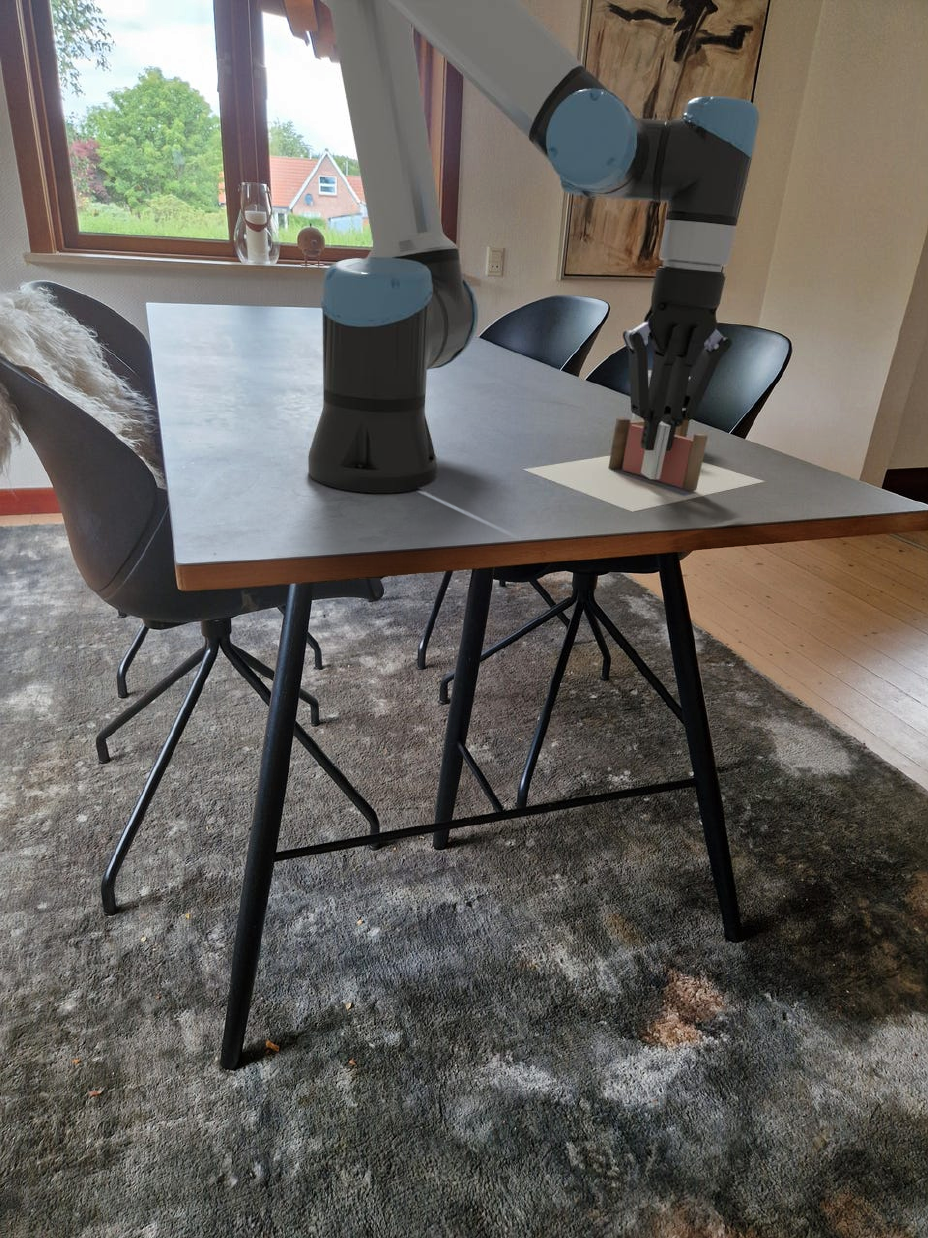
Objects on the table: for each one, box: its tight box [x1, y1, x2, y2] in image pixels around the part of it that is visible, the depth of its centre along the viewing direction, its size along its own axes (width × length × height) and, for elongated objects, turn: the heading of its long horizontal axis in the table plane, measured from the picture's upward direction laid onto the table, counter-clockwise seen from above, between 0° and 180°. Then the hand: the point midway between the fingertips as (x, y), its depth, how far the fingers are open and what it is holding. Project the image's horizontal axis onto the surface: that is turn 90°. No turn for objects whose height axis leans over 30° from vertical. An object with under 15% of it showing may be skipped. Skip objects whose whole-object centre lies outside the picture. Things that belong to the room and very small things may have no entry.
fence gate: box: [622, 424, 709, 491], centre depth 98 cm, size 10×2×7 cm, turn 45°
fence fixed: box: [608, 417, 691, 470], centre depth 106 cm, size 15×2×6 cm, turn 129°
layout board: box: [522, 455, 766, 513], centre depth 102 cm, size 27×18×1 cm, turn 129°
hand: (650, 475), depth 97 cm, fingers closed
